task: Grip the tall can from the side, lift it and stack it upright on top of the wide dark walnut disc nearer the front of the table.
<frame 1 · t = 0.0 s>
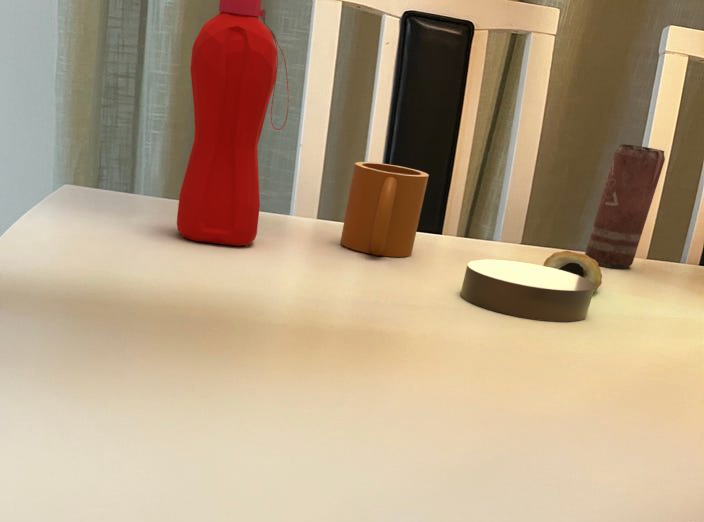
mug: (373, 252, 121), on the table
water bottle: (223, 241, 116), on the table
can: (607, 265, 132), on the table
pastry: (565, 287, 116), on the table
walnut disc: (522, 304, 104), on the table
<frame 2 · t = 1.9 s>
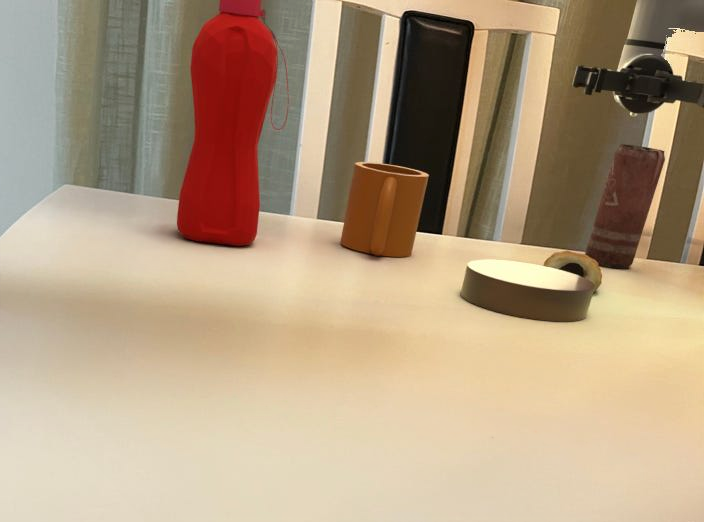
hand: (654, 88, 129), 20 cm above the table, tool horizontal, fingers open, 13 cm apart
nothing on the table moved.
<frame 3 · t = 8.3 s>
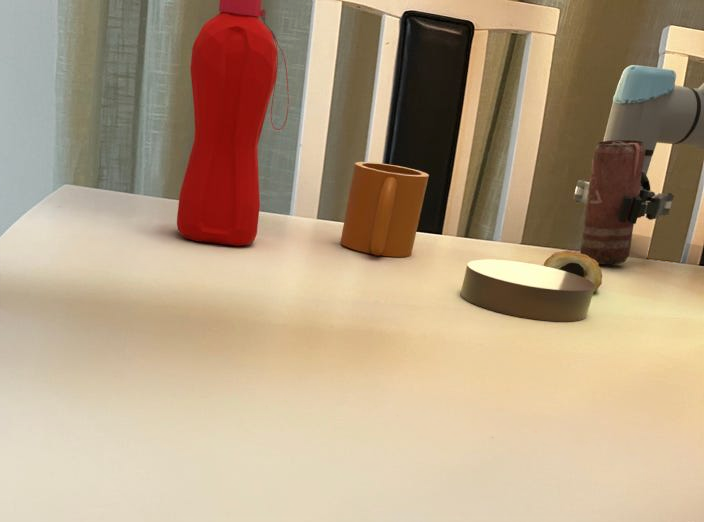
hand: (630, 211, 123), 7 cm above the table, tool horizontal, fingers closed on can
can: (604, 261, 132), on the table, touching gripper
everything else where it was.
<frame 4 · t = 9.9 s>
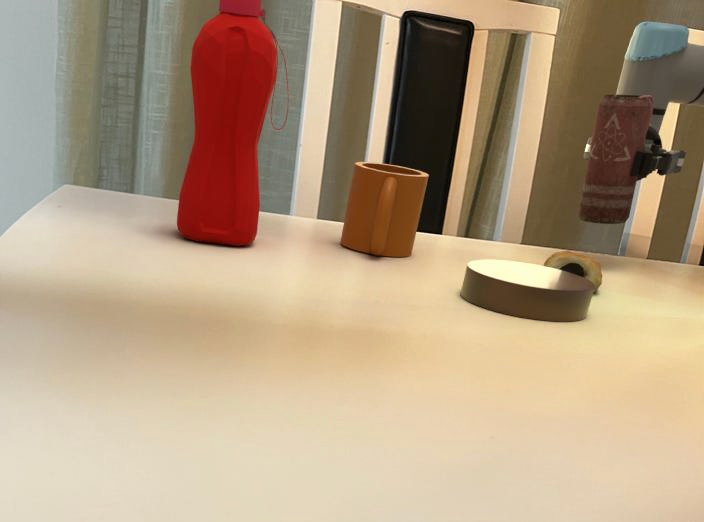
hand: (641, 164, 121), 12 cm above the table, tool horizontal, fingers closed on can
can: (603, 222, 127), point 5 cm above the table, touching gripper
everything else where it was.
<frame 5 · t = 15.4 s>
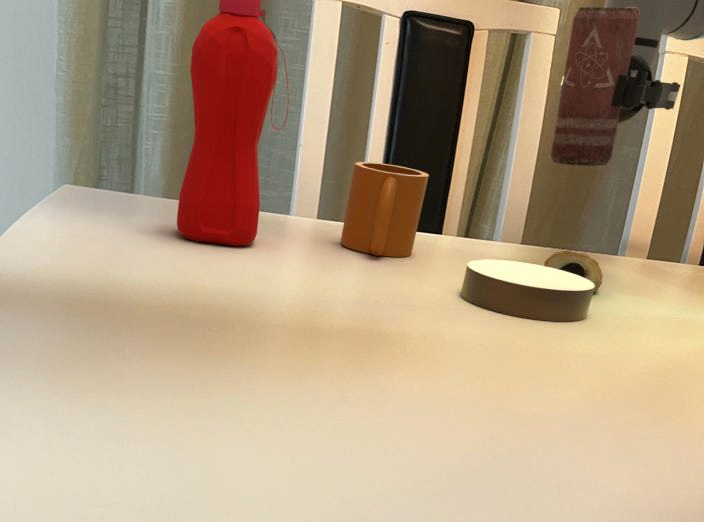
hand: (624, 91, 100), 20 cm above the table, tool horizontal, fingers closed on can
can: (580, 164, 106), point 13 cm above the table, touching gripper
everything else where it was.
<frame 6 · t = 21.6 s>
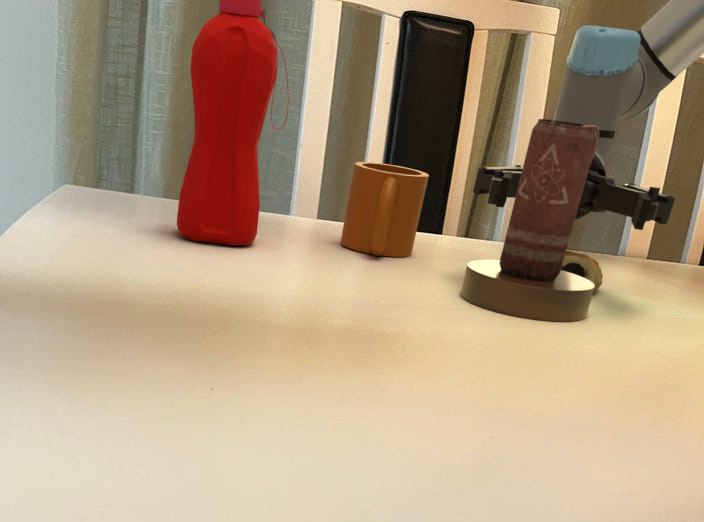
hand: (572, 203, 98), 10 cm above the table, tool horizontal, fingers open, 13 cm apart
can: (528, 276, 103), point 3 cm above the table, touching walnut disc
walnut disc: (522, 304, 104), on the table, touching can
everything else where it was.
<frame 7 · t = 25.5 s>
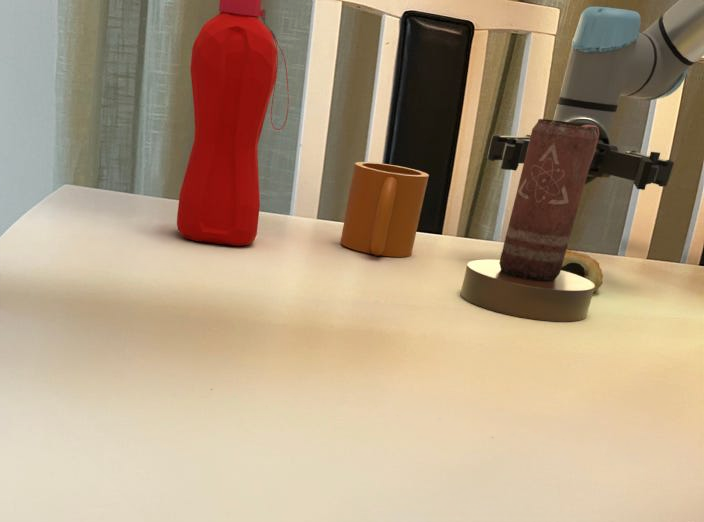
hand: (579, 166, 108), 13 cm above the table, tool horizontal, fingers open, 13 cm apart
nothing on the table moved.
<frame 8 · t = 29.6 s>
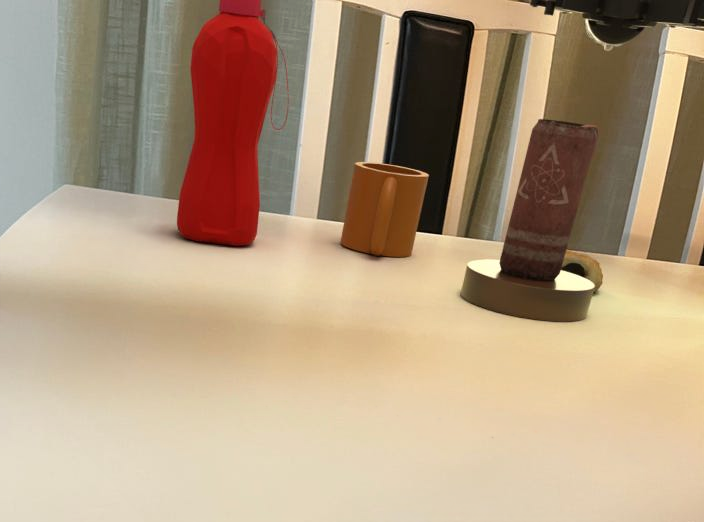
nothing on the table moved.
at the end: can inside the target area on the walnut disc (0.3 cm from its centre), point 2.8 cm above the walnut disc's base; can tilted 0°; the gripper is holding nothing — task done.
